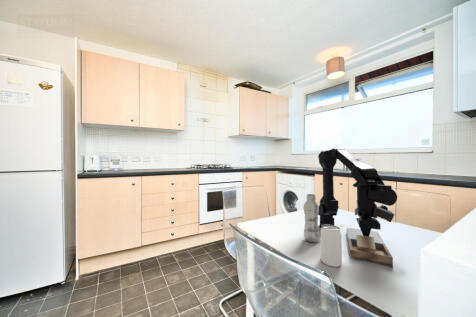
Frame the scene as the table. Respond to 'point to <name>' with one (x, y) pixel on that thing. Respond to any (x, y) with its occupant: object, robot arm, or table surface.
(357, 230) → the plate
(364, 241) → the tile
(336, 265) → the can
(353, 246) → the box
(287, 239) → the table surface
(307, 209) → the plastic bottle
